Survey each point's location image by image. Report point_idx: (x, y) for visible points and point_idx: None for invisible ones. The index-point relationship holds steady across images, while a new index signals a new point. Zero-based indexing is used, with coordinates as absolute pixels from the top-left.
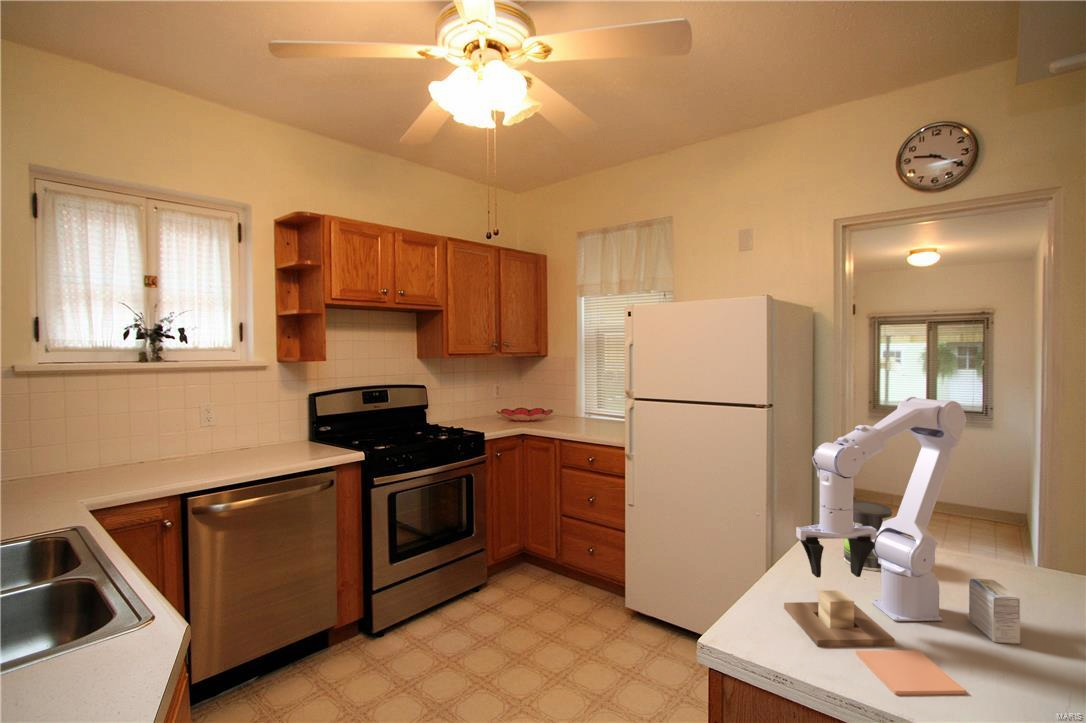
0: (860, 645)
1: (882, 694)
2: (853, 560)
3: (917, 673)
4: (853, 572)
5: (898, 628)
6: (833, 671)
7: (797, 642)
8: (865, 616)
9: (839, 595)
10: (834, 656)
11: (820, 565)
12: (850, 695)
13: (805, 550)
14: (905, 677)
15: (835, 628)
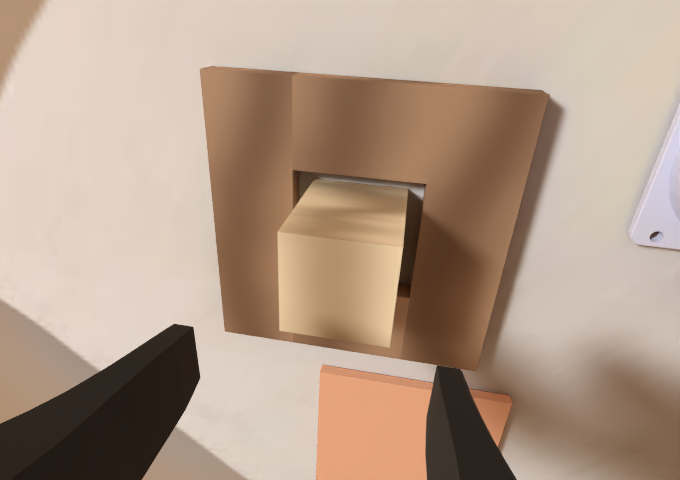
0: None
1: (292, 471)
2: (442, 468)
3: (414, 464)
4: (431, 398)
5: (590, 276)
6: (227, 402)
7: (184, 290)
8: (496, 234)
9: (356, 292)
10: (259, 360)
11: (149, 461)
12: (226, 459)
13: (14, 423)
14: (372, 467)
15: None
